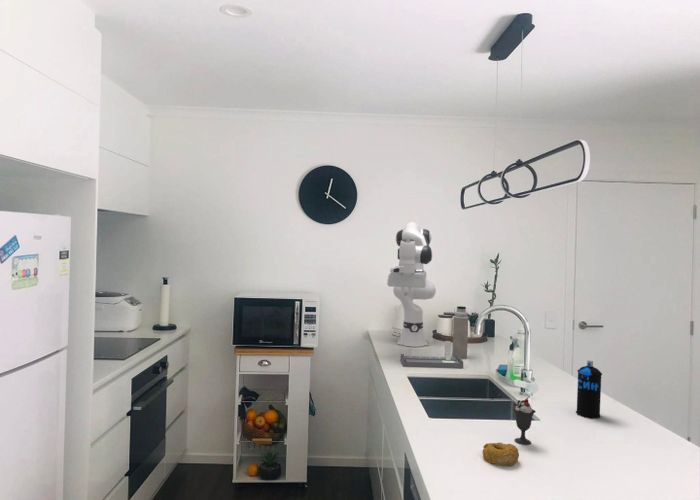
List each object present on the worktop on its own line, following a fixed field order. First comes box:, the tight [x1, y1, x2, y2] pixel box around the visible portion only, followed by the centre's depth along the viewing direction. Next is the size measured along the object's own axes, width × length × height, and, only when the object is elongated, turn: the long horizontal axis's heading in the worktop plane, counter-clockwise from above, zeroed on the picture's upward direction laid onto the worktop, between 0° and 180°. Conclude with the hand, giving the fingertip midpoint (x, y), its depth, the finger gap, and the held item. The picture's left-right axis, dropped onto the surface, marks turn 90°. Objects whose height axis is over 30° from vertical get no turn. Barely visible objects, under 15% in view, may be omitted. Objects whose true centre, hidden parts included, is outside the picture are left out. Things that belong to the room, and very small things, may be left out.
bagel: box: [482, 442, 520, 467], centre depth 137 cm, size 10×11×5 cm
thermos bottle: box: [451, 305, 469, 360], centre depth 265 cm, size 8×8×28 cm
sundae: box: [512, 395, 536, 446], centre depth 150 cm, size 7×7×15 cm
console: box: [400, 353, 464, 369], centre depth 247 cm, size 13×30×4 cm, turn 90°
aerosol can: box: [575, 359, 603, 419], centre depth 177 cm, size 8×8×20 cm
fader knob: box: [444, 340, 452, 360], centre depth 247 cm, size 3×2×9 cm
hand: (406, 295), depth 255 cm, fingers closed
